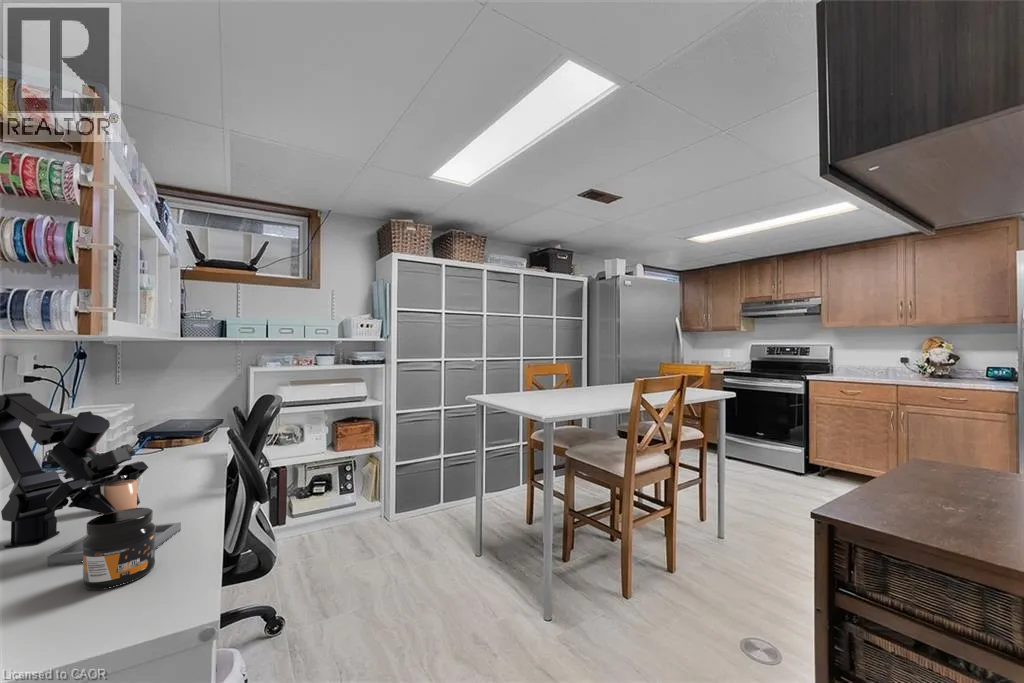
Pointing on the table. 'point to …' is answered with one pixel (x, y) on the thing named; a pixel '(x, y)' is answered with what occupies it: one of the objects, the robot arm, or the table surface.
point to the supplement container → (118, 548)
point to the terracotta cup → (121, 494)
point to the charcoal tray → (75, 549)
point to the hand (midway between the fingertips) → (126, 509)
